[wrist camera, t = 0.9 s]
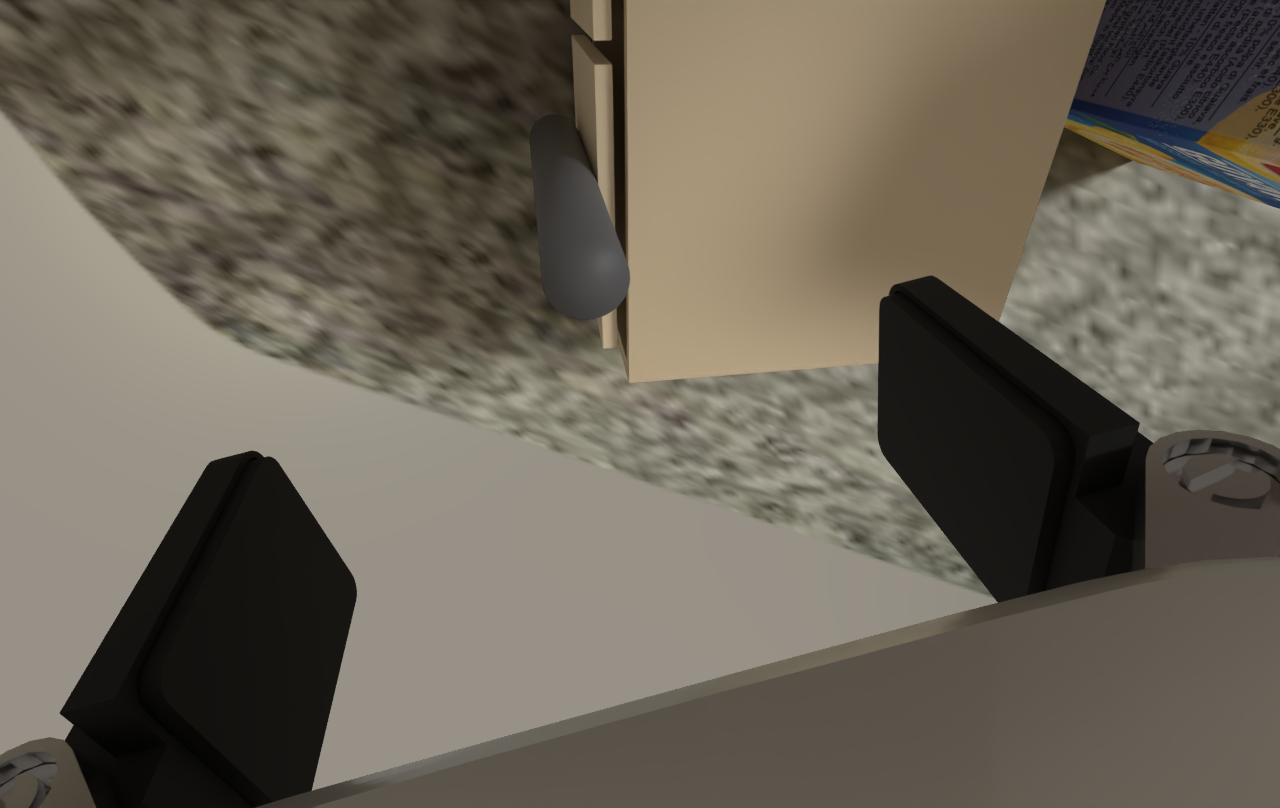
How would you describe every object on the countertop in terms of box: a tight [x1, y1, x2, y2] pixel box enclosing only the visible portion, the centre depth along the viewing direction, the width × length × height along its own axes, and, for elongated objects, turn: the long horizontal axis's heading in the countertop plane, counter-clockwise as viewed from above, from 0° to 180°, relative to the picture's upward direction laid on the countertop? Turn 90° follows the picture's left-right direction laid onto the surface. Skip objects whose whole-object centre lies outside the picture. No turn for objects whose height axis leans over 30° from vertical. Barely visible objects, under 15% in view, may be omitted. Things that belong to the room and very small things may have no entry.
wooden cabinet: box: [592, 0, 1106, 383], centre depth 23 cm, size 14×21×10 cm, turn 0°
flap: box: [530, 35, 630, 349], centre depth 22 cm, size 2×9×16 cm, turn 0°
